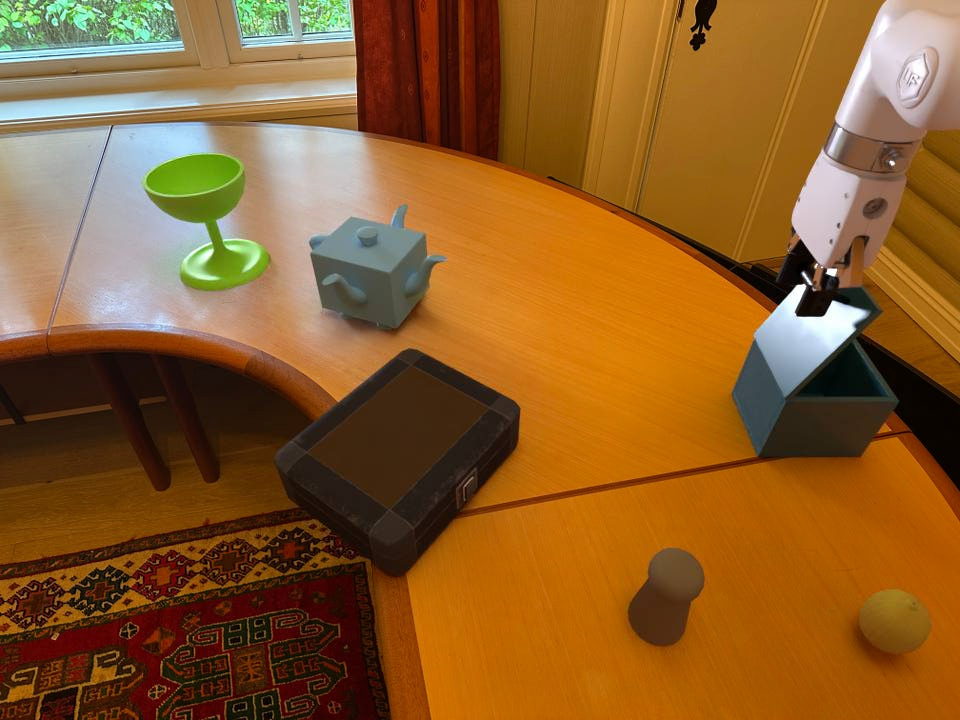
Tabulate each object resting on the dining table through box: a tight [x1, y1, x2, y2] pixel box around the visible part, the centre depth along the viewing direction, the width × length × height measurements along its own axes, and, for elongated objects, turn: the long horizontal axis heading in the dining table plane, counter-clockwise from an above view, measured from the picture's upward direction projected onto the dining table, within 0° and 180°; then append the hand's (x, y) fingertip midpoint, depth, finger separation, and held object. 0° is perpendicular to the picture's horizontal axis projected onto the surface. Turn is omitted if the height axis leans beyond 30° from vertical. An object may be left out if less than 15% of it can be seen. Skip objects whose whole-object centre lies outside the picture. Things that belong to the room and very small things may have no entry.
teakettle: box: [308, 203, 448, 330], centre depth 98 cm, size 19×19×15 cm
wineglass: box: [141, 152, 271, 292], centre depth 106 cm, size 16×16×18 cm
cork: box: [627, 547, 706, 647], centre depth 61 cm, size 6×6×11 cm
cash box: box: [273, 347, 522, 577], centre depth 76 cm, size 25×20×8 cm
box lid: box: [752, 259, 884, 399], centre depth 71 cm, size 14×12×5 cm
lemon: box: [858, 588, 932, 655], centre depth 60 cm, size 6×6×8 cm
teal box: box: [730, 337, 900, 458], centre depth 80 cm, size 14×12×11 cm
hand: (799, 297), depth 69 cm, fingers closed on box lid, 5 cm apart
